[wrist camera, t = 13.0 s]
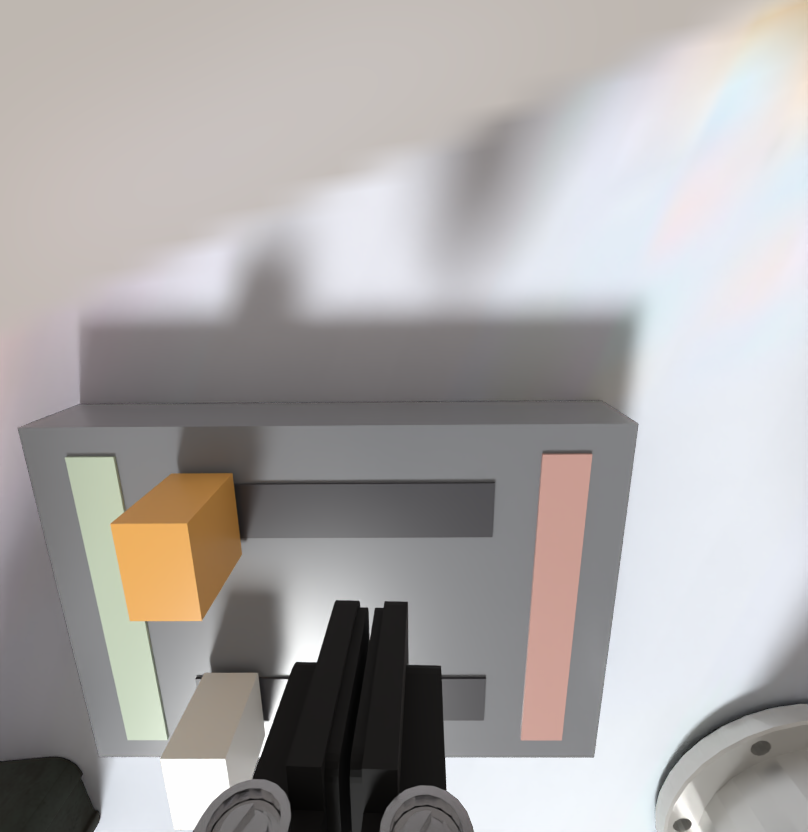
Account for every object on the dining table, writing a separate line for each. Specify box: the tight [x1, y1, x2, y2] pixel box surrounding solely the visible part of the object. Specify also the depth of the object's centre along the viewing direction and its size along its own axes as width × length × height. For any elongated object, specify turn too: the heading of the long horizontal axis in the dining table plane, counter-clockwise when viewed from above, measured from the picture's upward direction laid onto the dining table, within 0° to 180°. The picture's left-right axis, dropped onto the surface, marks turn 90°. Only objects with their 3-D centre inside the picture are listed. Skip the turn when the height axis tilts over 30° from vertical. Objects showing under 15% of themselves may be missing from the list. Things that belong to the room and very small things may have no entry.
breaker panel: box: [18, 400, 638, 830], centre depth 17 cm, size 20×14×7 cm
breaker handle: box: [110, 473, 242, 621], centre depth 14 cm, size 2×3×3 cm, turn 1°
